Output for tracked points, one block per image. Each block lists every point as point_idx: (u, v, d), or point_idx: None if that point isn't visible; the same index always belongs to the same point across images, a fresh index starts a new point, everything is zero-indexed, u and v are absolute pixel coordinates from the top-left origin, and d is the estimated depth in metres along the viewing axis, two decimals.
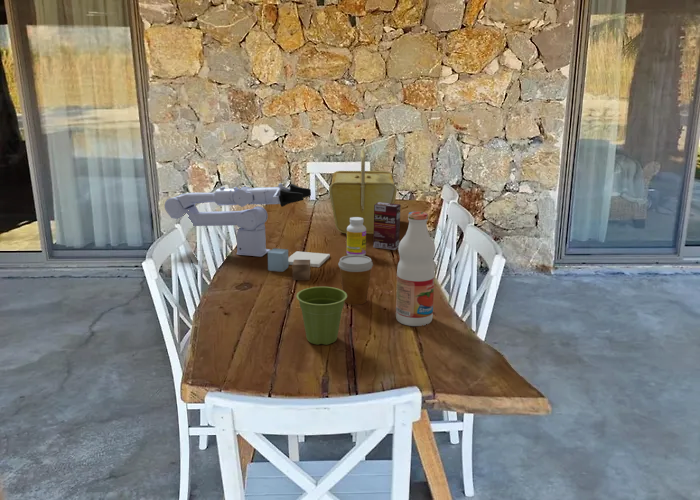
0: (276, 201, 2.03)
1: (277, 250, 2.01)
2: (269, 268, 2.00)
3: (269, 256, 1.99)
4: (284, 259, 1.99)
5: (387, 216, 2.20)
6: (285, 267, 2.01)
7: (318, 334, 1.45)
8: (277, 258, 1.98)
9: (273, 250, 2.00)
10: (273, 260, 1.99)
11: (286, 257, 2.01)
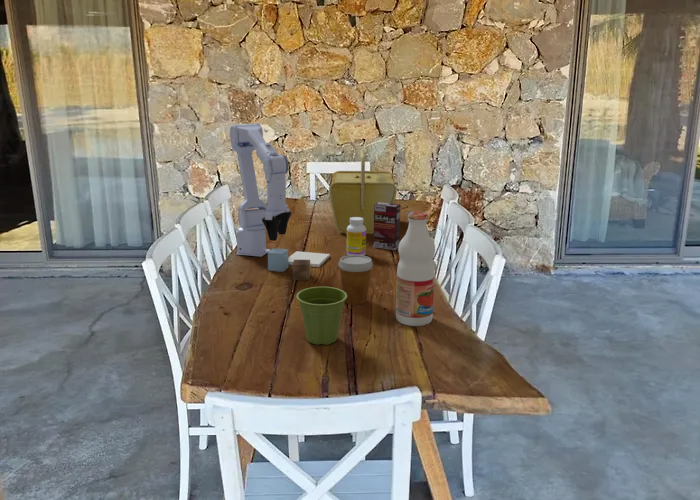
0: (266, 217, 1.90)
1: (277, 250, 2.01)
2: (269, 268, 2.00)
3: (269, 256, 1.99)
4: (284, 259, 1.99)
5: (387, 216, 2.20)
6: (285, 267, 2.01)
7: (318, 334, 1.45)
8: (277, 258, 1.98)
9: (273, 250, 2.00)
10: (273, 260, 1.99)
11: (286, 257, 2.01)
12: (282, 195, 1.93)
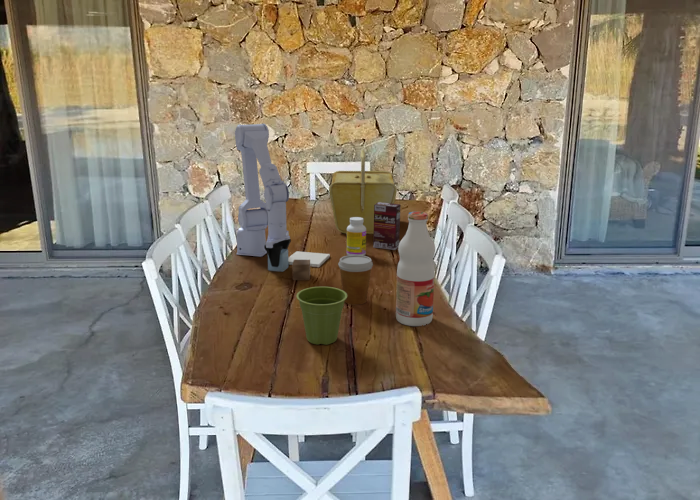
0: (266, 245, 1.93)
1: None
2: (269, 268, 2.00)
3: None
4: (284, 259, 1.99)
5: (387, 216, 2.20)
6: (285, 267, 2.01)
7: (318, 334, 1.45)
8: None
9: None
10: None
11: (286, 257, 2.01)
12: (283, 223, 1.96)
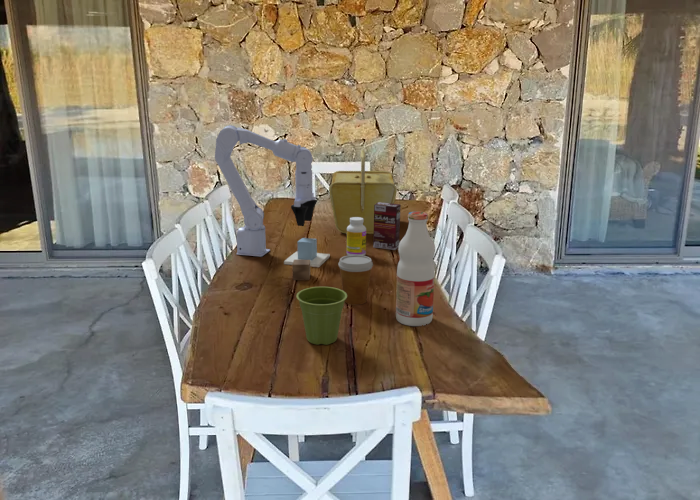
0: (295, 204, 2.08)
1: (306, 239, 2.09)
2: (299, 257, 2.08)
3: (299, 245, 2.07)
4: (313, 248, 2.08)
5: (387, 216, 2.20)
6: (314, 256, 2.09)
7: (318, 334, 1.45)
8: (306, 247, 2.07)
9: (302, 239, 2.09)
10: (303, 249, 2.07)
11: (315, 246, 2.09)
12: (309, 184, 2.11)
